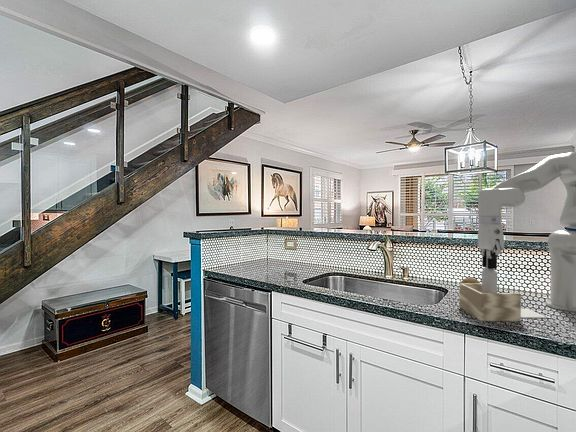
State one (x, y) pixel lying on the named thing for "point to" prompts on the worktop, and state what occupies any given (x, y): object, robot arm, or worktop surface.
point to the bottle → (489, 279)
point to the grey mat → (530, 314)
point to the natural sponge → (470, 280)
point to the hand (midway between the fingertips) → (489, 267)
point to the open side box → (489, 303)
